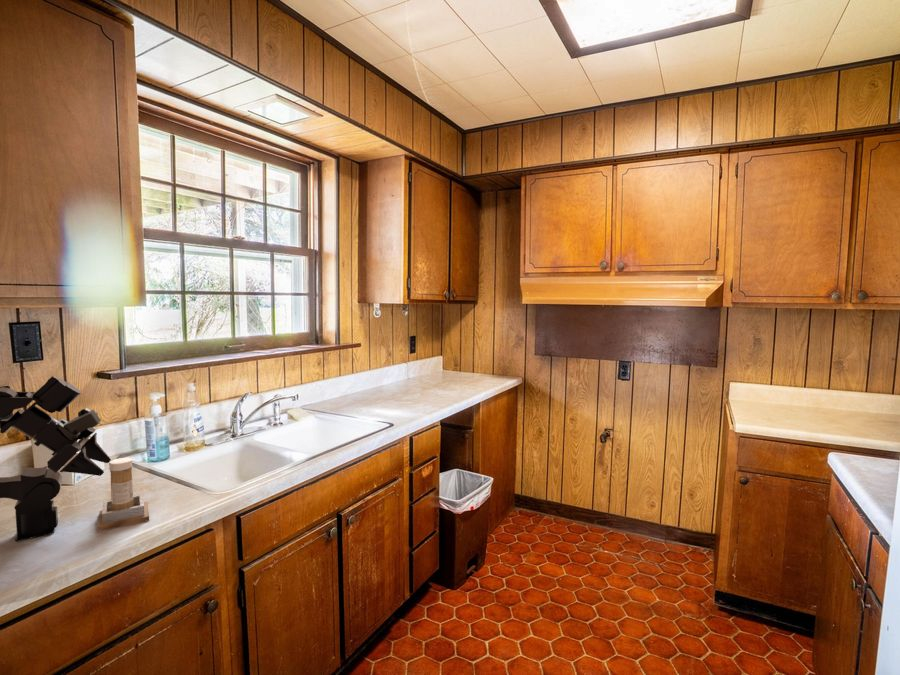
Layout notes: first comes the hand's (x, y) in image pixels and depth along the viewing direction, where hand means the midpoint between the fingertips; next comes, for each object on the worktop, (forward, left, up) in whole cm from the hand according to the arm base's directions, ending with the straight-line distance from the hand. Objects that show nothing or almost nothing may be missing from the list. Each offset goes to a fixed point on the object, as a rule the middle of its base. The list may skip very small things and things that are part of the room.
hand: (106, 467), depth 113 cm
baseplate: (+3, 0, -13) cm, 13 cm away
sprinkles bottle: (+3, -1, -12) cm, 13 cm away
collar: (+3, 0, -13) cm, 13 cm away
